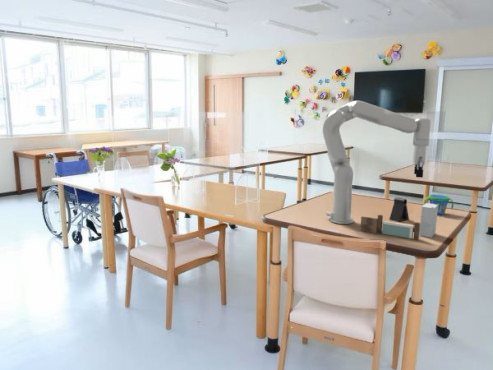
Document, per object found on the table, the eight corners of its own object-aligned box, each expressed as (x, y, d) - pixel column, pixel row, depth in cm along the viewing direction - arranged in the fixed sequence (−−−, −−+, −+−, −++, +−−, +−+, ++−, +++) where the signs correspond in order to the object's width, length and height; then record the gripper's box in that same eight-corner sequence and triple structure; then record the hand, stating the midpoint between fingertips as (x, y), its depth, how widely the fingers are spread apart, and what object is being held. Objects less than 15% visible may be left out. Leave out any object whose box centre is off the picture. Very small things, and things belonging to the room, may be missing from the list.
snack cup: (452, 212, 243) (453, 195, 241) (453, 217, 234) (454, 199, 232) (423, 210, 249) (424, 193, 248) (423, 214, 240) (424, 197, 238)
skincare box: (423, 231, 207) (425, 202, 204) (436, 233, 204) (438, 204, 201) (418, 235, 200) (421, 205, 198) (432, 238, 197) (434, 207, 194)
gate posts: (360, 230, 209) (360, 213, 207) (362, 229, 212) (363, 211, 210) (417, 240, 193) (419, 221, 192) (419, 238, 196) (420, 220, 195)
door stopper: (398, 222, 224) (399, 200, 222) (389, 219, 229) (390, 198, 227) (409, 219, 229) (410, 198, 227) (399, 217, 234) (401, 196, 232)
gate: (381, 233, 203) (382, 221, 202) (382, 232, 205) (383, 220, 203) (412, 238, 195) (413, 226, 194) (413, 237, 197) (414, 225, 195)
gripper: (411, 141, 222) (409, 172, 225) (414, 144, 205) (412, 178, 209) (426, 141, 220) (424, 173, 223) (431, 144, 203) (428, 178, 207)
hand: (418, 175), depth 216 cm, fingers open, 9 cm apart
